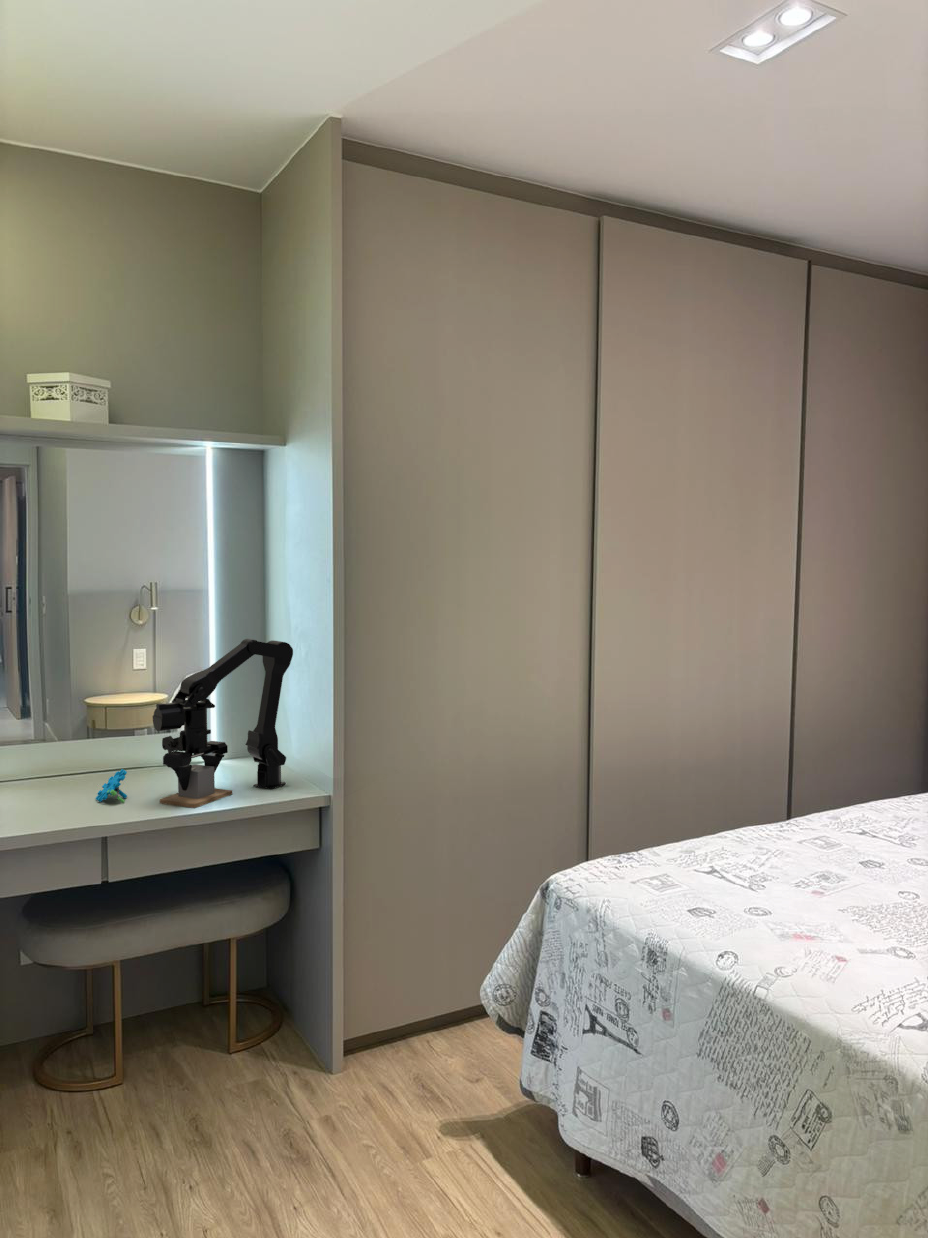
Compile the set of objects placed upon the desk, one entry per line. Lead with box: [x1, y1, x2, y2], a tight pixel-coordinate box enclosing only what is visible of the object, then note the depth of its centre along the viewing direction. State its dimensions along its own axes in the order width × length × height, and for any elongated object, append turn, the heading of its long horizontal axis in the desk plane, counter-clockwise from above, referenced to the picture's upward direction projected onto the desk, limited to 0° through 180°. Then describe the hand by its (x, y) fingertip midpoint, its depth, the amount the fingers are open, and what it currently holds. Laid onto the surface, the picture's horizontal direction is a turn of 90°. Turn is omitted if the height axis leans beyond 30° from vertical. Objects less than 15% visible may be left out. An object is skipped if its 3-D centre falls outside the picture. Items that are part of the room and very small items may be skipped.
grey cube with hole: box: [177, 764, 216, 799], centre depth 247 cm, size 6×6×7 cm
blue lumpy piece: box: [95, 768, 128, 804], centre depth 246 cm, size 11×6×10 cm
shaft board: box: [159, 787, 233, 809], centre depth 247 cm, size 15×11×4 cm
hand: (196, 786), depth 247 cm, fingers open, 9 cm apart
